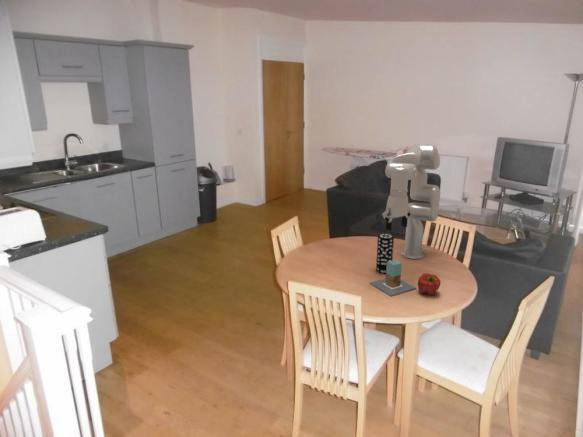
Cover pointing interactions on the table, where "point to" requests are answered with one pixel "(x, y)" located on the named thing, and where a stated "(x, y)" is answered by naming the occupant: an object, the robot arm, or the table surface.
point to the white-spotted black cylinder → (384, 251)
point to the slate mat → (392, 291)
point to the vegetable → (428, 283)
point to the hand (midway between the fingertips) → (396, 228)
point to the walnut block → (393, 280)
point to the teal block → (393, 268)
